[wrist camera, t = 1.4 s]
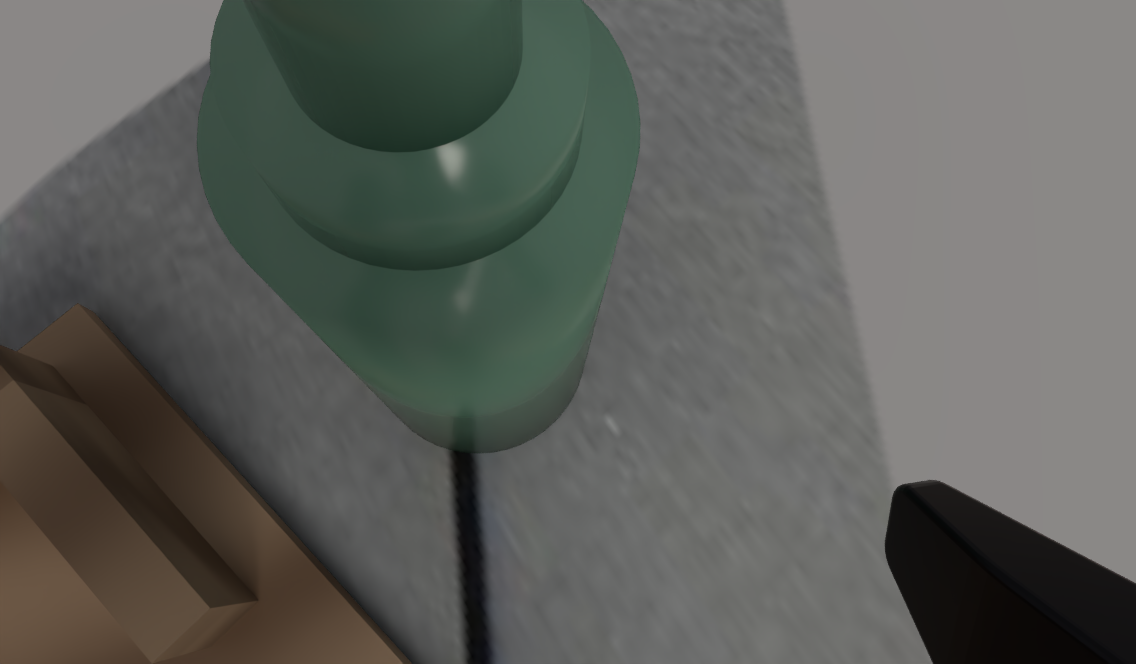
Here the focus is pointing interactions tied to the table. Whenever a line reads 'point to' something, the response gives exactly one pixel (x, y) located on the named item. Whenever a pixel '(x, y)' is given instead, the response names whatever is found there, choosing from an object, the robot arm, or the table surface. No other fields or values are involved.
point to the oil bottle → (428, 192)
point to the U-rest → (145, 528)
